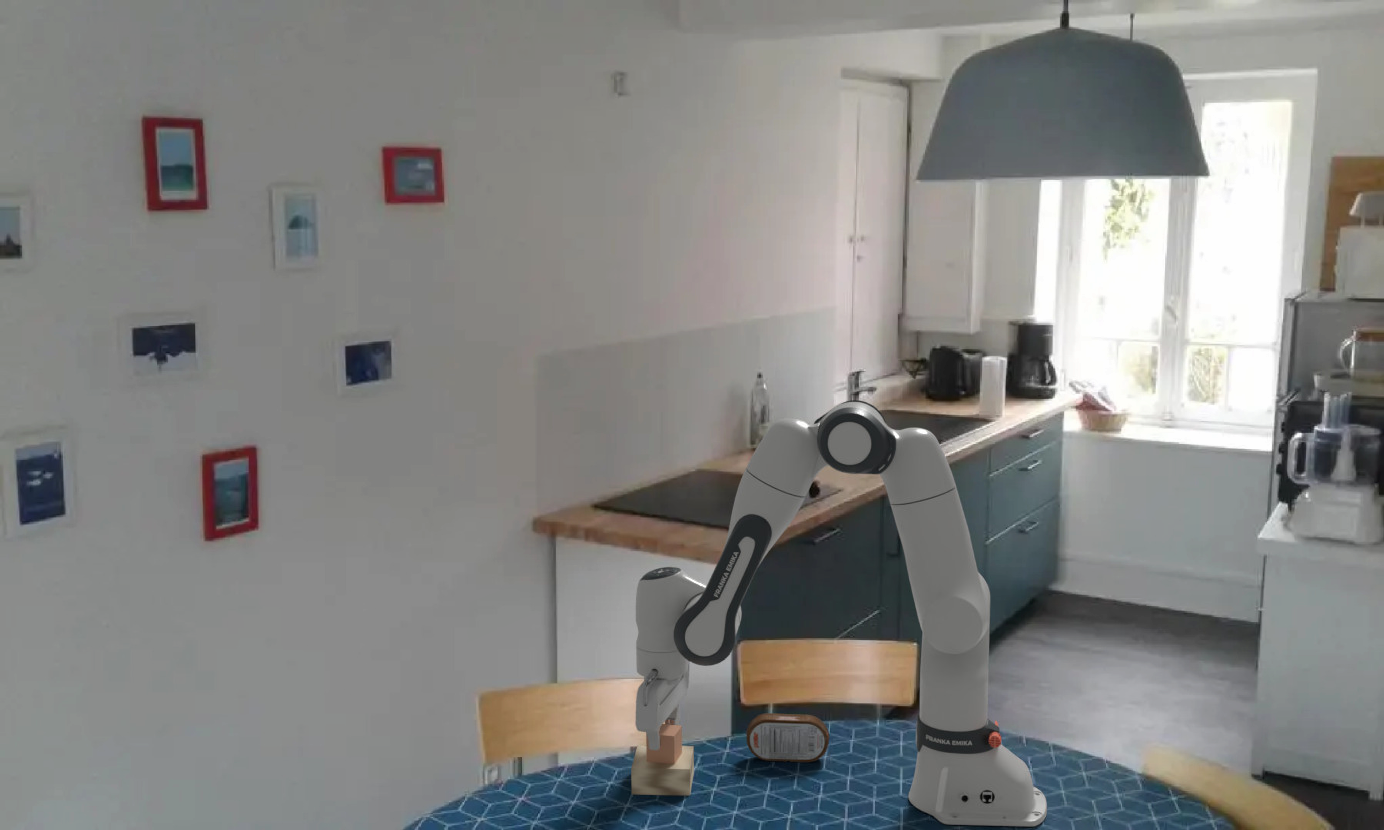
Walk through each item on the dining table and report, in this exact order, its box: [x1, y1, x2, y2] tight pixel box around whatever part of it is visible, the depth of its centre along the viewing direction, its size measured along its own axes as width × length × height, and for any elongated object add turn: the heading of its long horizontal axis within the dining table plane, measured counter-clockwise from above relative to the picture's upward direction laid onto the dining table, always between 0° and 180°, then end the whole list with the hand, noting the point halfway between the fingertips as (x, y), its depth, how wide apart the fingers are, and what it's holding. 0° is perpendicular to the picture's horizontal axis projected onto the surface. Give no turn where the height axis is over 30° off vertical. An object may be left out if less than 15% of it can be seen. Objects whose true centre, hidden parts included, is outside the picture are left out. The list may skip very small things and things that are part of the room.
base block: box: [630, 744, 695, 796], centre depth 221 cm, size 10×10×5 cm
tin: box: [745, 712, 830, 763], centre depth 229 cm, size 15×3×8 cm, turn 84°
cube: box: [645, 723, 683, 764], centre depth 220 cm, size 5×5×5 cm
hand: (663, 738), depth 220 cm, fingers open, 8 cm apart
